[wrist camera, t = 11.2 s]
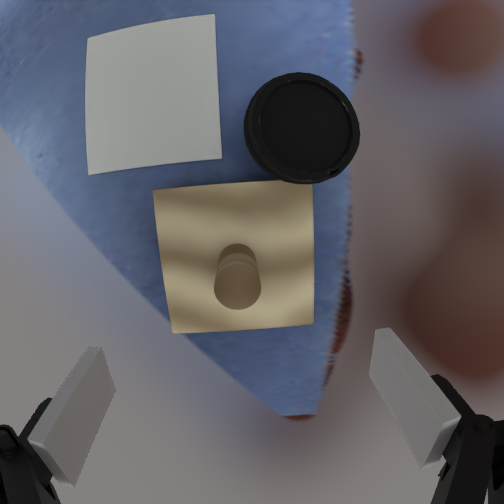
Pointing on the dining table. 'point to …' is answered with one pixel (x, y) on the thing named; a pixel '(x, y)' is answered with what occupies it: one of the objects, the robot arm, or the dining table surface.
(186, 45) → the mat
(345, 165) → the coffee cup
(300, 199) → the lid
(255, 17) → the dining table surface
